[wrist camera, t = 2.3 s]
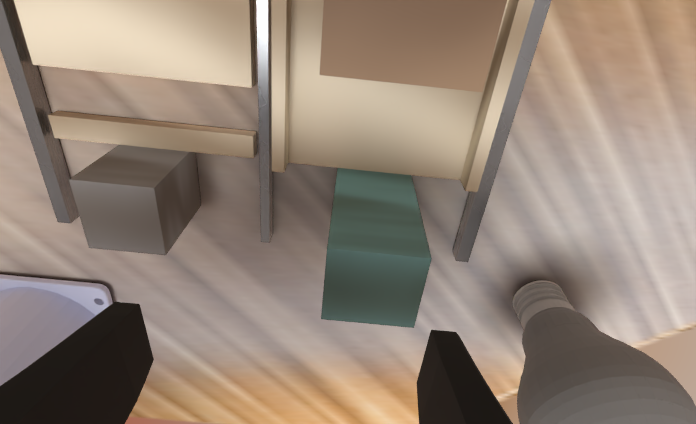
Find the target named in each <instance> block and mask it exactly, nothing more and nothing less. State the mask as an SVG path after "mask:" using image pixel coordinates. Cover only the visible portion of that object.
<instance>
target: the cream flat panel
mask: <svg viewBox="0 0 696 424" xmlns="http://www.w3.org/2000/svg"><path fill="white" fill-rule="evenodd" d="M14 3H15V6H16V10H17V13H18V16H19V20H20V23H21V27H22V30H23V33H24V37H25V40H26V43H27V47H28V50H29V53H30V57H31V60H32V64H33V65H41V66H50V67H60V68H69V69H79V70H88V71H98V72H107V73H116V74H126V75H135V76H145V77H154V78H164V79H173V80H183V81H192V82H202V83H211V84H221V85H230V86H240V87H249V88H252V87H253V86H254V85H255V50H254V7H253V0H14ZM48 117H49V121H50V124H51V127H52V131H53V134H54V138H59V139H69V140H79V141H89V142H99V143H109V144H118V146H117V147H115V148H114V149H112V150H111V151H110V152H108V153H107V154H105V155H104V156H102V157H101V158H99V159H98V160H97V161H95V162H94V163H92V164H91V165H89V166H88V167H86V168H85V169H84V170H82V171H81V172H79V173H78V174H76V175H75V176H73V177H72V178H71V179H69V181H70V185H71V188H72V191H73V195H74V198H75V202H76V205H77V208H78V212H79V215H80V218H81V222H82V225H83V229H84V232H85V235H86V239H87V242H88V246H89V248H96V249H107V250H117V251H127V252H138V253H148V254H159V255H166V254H167V253H168V251H169V250H170V248H171V247H172V246H173V244H174V243H175V241H176V240H177V239H178V237H179V236H180V234H181V233H182V231H183V230H184V229H185V227H186V226H187V224H188V223H189V222H190V220H191V219H192V217H193V216H194V214H195V213H196V212H197V210H198V209H199V207H200V206H201V199H200V190H199V180H198V171H197V162H196V153H195V152H197V153H207V154H217V155H227V156H236V157H246V158H254V157H255V155H256V154H257V137H256V131H248V130H238V129H228V128H219V127H209V126H199V125H190V124H180V123H170V122H160V121H151V120H141V119H131V118H122V117H112V116H102V115H93V114H83V113H73V112H64V111H56V112H54V113H51V114H49V115H48Z"/></svg>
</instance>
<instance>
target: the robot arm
mask: <svg viewBox="0 0 696 424" xmlns="http://www.w3.org/2000/svg"><path fill="white" fill-rule="evenodd" d="M153 360H154V359H153V355H152V351H151V348H150V344H149V340H148V336H147V332H146V328H145V324H144V320H143V316H142V312H141V308H140V305H139V304H132V303H120V302H114V303H113V302H112V298H111V295H110V291H109V289H108V288H107V287H106V286H104V285H103V284H97V283H87V282H76V281H65V280H55V279H44V278H33V277H23V276H12V275H2V274H0V424H125V422H126V420H127V418H128V416H129V415H130V413H131V411H132V409H133V407H134V405H135V403H136V402H137V399H138V397H139V395H140V392H141V390H142V388H143V385H144V383H145V380H146V378H147V375H148V373H149V370H150V368H151V365H152V363H153ZM417 394H418V411H419V424H513V423H512V422H511V421H510V419H509V417H508V416H507V414H506V413H505V411H504V410H503V408H502V407H501V405H500V404H499V402H498V400H497V399H496V397H495V396H494V394H493V393H492V391H491V389H490V388H489V386H488V385H487V383H486V381H485V380H484V378H483V376H482V375H481V373H480V371H479V370H478V368H477V366H476V365H475V363H474V361H473V360H472V358H471V356H470V354H469V353H468V351H467V349H466V347H465V346H464V344H463V342H462V340H461V338H460V337H459V335H458V334H457V333H456V332H449V331H438V330H431V333H430V336H429V340H428V344H427V347H426V351H425V355H424V358H423V362H422V366H421V369H420V373H419V377H418V380H417Z"/></svg>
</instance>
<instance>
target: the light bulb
mask: <svg viewBox="0 0 696 424" xmlns="http://www.w3.org/2000/svg"><path fill="white" fill-rule="evenodd" d="M512 304H513V308H514V310H515V312H516V315H517V316H518V318H519V321H520V323H521V325H522V328H523V330H524V332H523V337H522V344H523V348H524V352H525V355H526V358H525V364H524V370H523V373H522V376H521V381H520V385H519V390H518V396H517V407H518V418H519V422H520V424H696V406H695V404H694V402H693V400H692V398H691V397H690V396H689V394H688V393H687V392H686V390H685V389H684V388H683V387H682V385H681V384H680V383H679V382H678V381H677V380H676V379H675V378H674V377H673V375H671V373H669V371H668V370H667V369H665V368H664V367H663V366H662V365H660V364H659V363H658V362H656V361H655V360H654V359H653V358H651V357H649V356H648V355H646V354H645V353H643V352H641V351H639V350H637V349H635V348H633V347H631V346H629V345H627V344H625V343H623V342H621V341H619V340H616V339H614V338H612V337H610V336H608V335H606V334H604V333H602V332H601V331H599V330H598V329H597V328H596V326H595V325H594V324H593V323H592V322H591V321H590V320H589V319H588V318H586V317H585V316H583V315H582V314H580V313H578V312H576V311H575V310H574V308H573V307H572V305H571V303H570V302H569V301H568V299H567V297H566V296H565V294H564V292H563V291H562V289H561V288H560V287H559V285H557V284H556V283H554V282H551V281H546V280H540V281H534V282H531V283H528V284H526V285H524V286H523V287H521V288H520V289H519V290H518V291H517V292H516V293H515V295H514V297H513V303H512Z"/></svg>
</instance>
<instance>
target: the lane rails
mask: <svg viewBox="0 0 696 424" xmlns="http://www.w3.org/2000/svg"><path fill="white" fill-rule="evenodd" d="M256 2H257V53H258V104H259V156H260V207H261V242H268V243H270V240H271V237H272V234H273V171H272V43H271V0H256ZM550 3H551V0H535V1H534V4H533V8H532V11H531V14H530V18H529V21H528V24H527V28H526V31H525V34H524V38H523V41H522V44H521V48H520V51H519V54H518V58H517V61H516V64H515V68H514V71H513V74H512V78H511V81H510V84H509V88H508V91H507V95H506V98H505V101H504V105H503V108H502V111H501V115H500V118H499V121H498V125H497V128H496V131H495V135H494V138H493V141H492V145H491V148H490V151H489V155H488V158H487V161H486V165H485V168H484V172H483V175H482V178H481V182H480V185H479V188H478V192H471V191H470V193H469V196H468V200H467V203H466V207H465V210H464V214H463V217H462V220H461V224H460V227H459V231H458V234H457V238H456V241H455V245H454V248H453V253H454V256H455V260H456V261H463V262H468V261H469V257H470V254H471V251H472V248H473V245H474V242H475V239H476V235H477V232H478V229H479V226H480V223H481V220H482V217H483V213H484V210H485V207H486V204H487V201H488V198H489V195H490V191H491V188H492V185H493V182H494V179H495V176H496V173H497V169H498V166H499V163H500V160H501V157H502V154H503V150H504V147H505V144H506V141H507V138H508V135H509V132H510V128H511V125H512V122H513V119H514V116H515V113H516V110H517V106H518V103H519V100H520V97H521V94H522V91H523V88H524V84H525V81H526V78H527V75H528V72H529V69H530V66H531V62H532V59H533V56H534V53H535V50H536V47H537V43H538V40H539V37H540V34H541V31H542V28H543V25H544V21H545V18H546V15H547V12H548V9H549V6H550ZM0 48H1V51H2V55H3V58H4V61H5V64H6V67H7V70H8V73H9V76H10V79H11V82H12V85H13V88H14V91H15V94H16V97H17V100H18V103H19V106H20V109H21V112H22V115H23V118H24V121H25V124H26V127H27V130H28V133H29V136H30V139H31V142H32V145H33V148H34V151H35V154H36V157H37V160H38V163H39V166H40V169H41V172H42V175H43V179H44V182H45V185H46V188H47V191H48V194H49V197H50V200H51V203H52V206H53V209H54V212H55V215H56V218H57V221H58V222H62V223H72V222H73V221H74V220H75V219H76V218H78V217H79V216H80V215H79V212H78V208H77V205H76V202H75V198H74V195H73V191H72V188H71V185H70V181H69V179H70V176H69V172H68V169H67V166H66V162H65V159H64V155H63V152H62V148H61V145H60V142H59V138H54V134H53V131H52V127H51V124H50V121H49V117H48V115H49V114H51V111H50V107H49V104H48V100H47V97H46V94H45V90H44V87H43V83H42V80H41V77H40V73H39V70H38V66H37V65H33V64H32V60H31V57H30V53H29V50H28V47H27V43H26V40H25V37H24V33H23V30H22V27H21V23H20V20H19V16H18V13H17V10H16V6H15V3H14V0H0Z"/></svg>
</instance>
